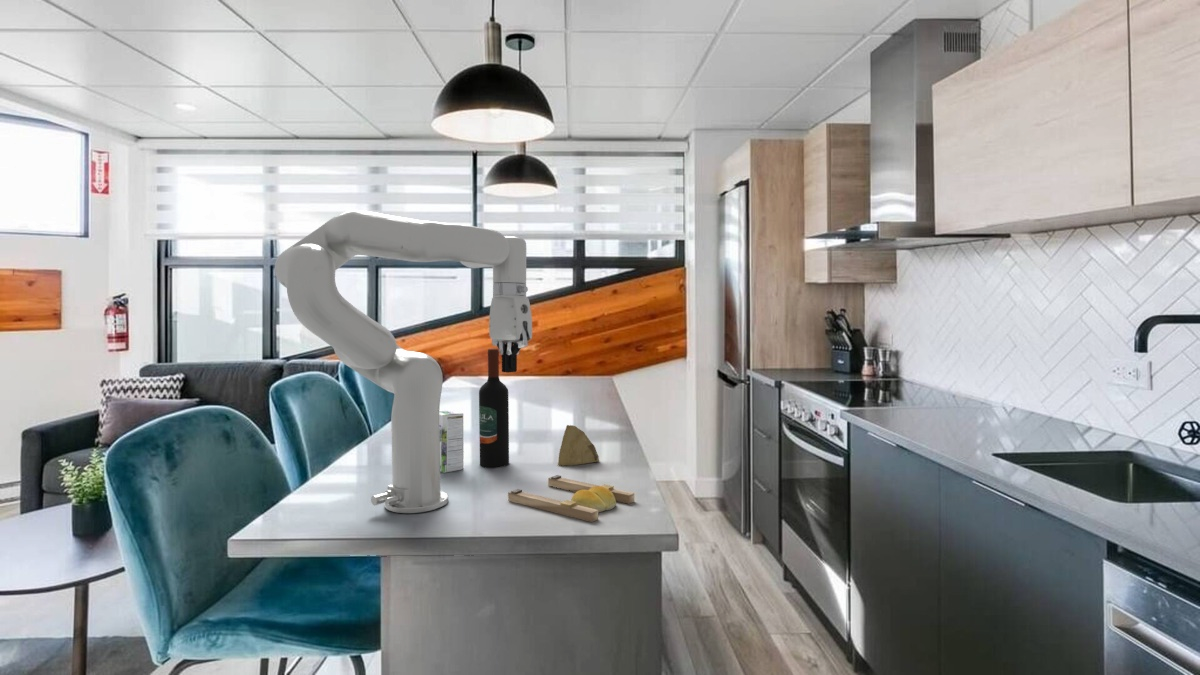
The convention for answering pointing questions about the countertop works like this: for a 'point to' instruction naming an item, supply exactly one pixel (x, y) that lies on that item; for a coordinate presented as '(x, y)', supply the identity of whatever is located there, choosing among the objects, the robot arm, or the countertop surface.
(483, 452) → the wine bottle
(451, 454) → the syrup box
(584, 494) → the bread roll
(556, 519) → the countertop surface
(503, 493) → the countertop surface
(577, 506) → the slot rails
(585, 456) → the rock
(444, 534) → the countertop surface
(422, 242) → the robot arm
